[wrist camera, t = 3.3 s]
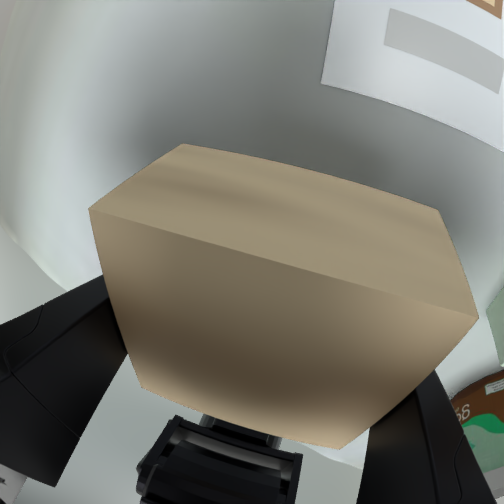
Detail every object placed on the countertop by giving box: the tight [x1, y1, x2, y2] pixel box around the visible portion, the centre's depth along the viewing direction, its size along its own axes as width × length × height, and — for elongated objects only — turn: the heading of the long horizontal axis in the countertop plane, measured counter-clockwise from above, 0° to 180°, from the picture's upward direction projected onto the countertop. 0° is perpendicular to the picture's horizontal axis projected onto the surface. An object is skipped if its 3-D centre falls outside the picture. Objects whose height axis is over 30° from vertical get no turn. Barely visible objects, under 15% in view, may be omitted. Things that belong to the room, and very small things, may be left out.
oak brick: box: [88, 143, 479, 450], centre depth 7 cm, size 6×6×4 cm
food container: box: [451, 370, 504, 499], centre depth 14 cm, size 12×6×10 cm, turn 16°
